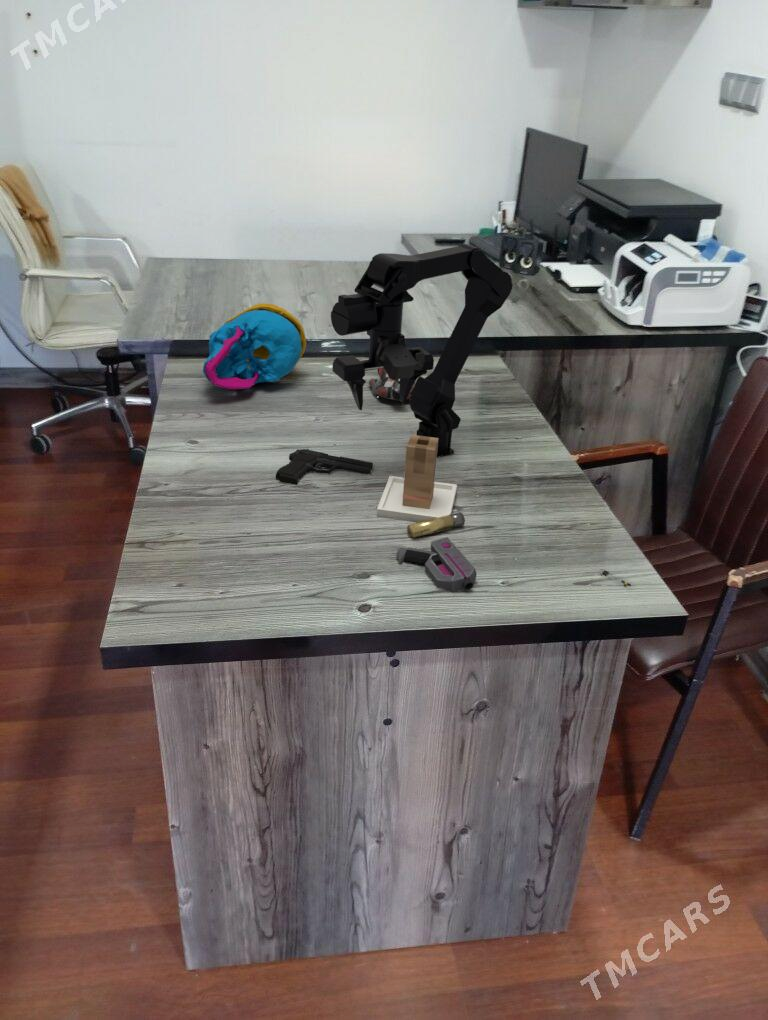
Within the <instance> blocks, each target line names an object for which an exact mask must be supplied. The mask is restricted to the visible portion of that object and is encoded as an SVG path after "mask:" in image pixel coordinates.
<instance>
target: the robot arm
mask: <svg viewBox="0 0 768 1020" xmlns="http://www.w3.org/2000/svg"><path fill="white" fill-rule="evenodd" d="M459 272H461V274H462V275H463V277H464V278H465V279H466V280H467V282H466V285H465V289H464V307H463V310H462V312H461V314H460V316H459V318H458V319H457V321H456V323H455V326H454V328H453V330H452V332H451V334H450V335H449V338H448V340H447V342H446V345H445V346H444V348H443V351H442V353H441V354H440V356H439V359H438V361H437V362H436V364H435V367H434V363H435V359H434V356H433V355H432V354H431V353H430V352H429V351H426V350H425V349H424V348H422V347H421V346H414V347H407V346H406V338H405V337H406V336H405V335H404V334H403V333H402V329H403V327H402V325H403V313H404V312H403V310H404V303H409V302H414V297H413V296H412V294H410V293H409V292H408V290H411V289H413V288H414V287H415V286H416V285H417V284H419V282H421V281H424V280H428V279H432V278H436V277H442V276H446V275H450V274H455V273H459ZM373 286H374V287H373ZM513 286H514V284H513V281H512V276H511V275H510V274H509V273H508V272H506V271H504V270H503V269H501V267H499V265H497V264H496V263H495V262H493V261H492V260H491V259H490V258H489V257H488V256H487V255H486V254H485V252H484V251H482V249H481V248H479V247H476V246H474V245H470V244H468V243H462V244H461V243H460V244H458V246H454V247H448V248H442V249H439V250H437V249H436V250H432V251H429V252H423V253H417V254H413V255H411V254H409V255H407V254H401V253H384V252H383V253H382V252H381V253H377V254H375V255H373V256H372V259H371V260H370V262H369V264H368V267H367V269H366V270H365V272H364V274H363V275H362V277H361V278H360V280H359V282H358V283H357V285H356V286H355V288H354V292H355V293H353V294H341V295H340V294H339V295H338V297H337V302H336V303H334V304H333V307H332V309H331V311H330V321H331V325H332V328H333V329H334V332H335V333H336V334H337V335H339V336H348V335H353V334H359V333H364V332H366V335H367V336H369V344H368V345H369V349H366V350H365V356H366V357H368V359H365V360H360V359H358V358H357V357H356V356H354V355H353V354H351V355H345V356H338V357H335V359H334V360H333V362H332V373H334V374H335V375H336V376H338V378H340V379H341V380H342V381H344V382H346V383H347V385H348V386H349V388H350V391H351V393H352V394H351V395H352V396H353V399H354V402H355V404H356V407H357V409H358V410H359V411H362V410H363V405H364V385H365V384H366V382H367V381H366V379H364V377H365V375H366V372H368V371H376V370H378V369H383V368H384V369H385V371H386V372H387V374H388V377H389V378H390V379H392V380H398V379H400V400H399V401H400V402H401V404H405V403H406V401H407V400H408V401H409V402H408V404H409V406H410V409H411V411H412V412H413V415H414V418H415V419H416V420H419V421H418V429H417V430H416V435H418V436H426V437H433V438H439V439H438V449H437V458H438V457H439V458H440V457H443V456H448V455H454V454H455V450H454V449H453V448H451V446H452V445H451V444H452V435H453V430H456V429H458V428H459V425H460V423H461V420H462V418H461V417H460V416H459V415H458V414H457V412H455V411H454V410H453V405H454V403H455V401H456V389H455V388H456V385H455V384H456V381H457V380H458V378H459V376H460V374H461V371H462V369H463V368H464V366H465V364H466V361H467V359H468V357H469V356H470V354H471V351H472V350H473V348H474V345H475V343H476V341H477V340H478V337H479V335H480V333H481V332H482V329H483V327H484V325H485V323H486V322H487V320H488V318H489V317H490V316H492V315H493V314H494V313H495V312H497V311H498V310H500V309H501V308H502V307H503V305H504V303H505V302H506V301H507V299H508V297H509V296H510V294H511V293H512V290H513ZM375 287H377V288H378V289H377V288H375ZM379 288H380V289H381V290H382V291H380V290H379ZM432 370H433V371H432ZM428 371H432V372H431V373H430V374H428V375H427V376H426V377H423V375H426V374H427V372H428ZM414 383H415V386H414V388H413V390H412V391H411V392H410V390H411V388H412V386H413V384H414ZM409 393H410V394H411V397H410V399H407V397H408V395H409Z"/></svg>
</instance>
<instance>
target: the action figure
mask: <svg viewBox="0 0 768 1020" xmlns="http://www.w3.org/2000/svg"><path fill="white" fill-rule="evenodd" d="M377 373H378V375H379V377H380V380H381V381H382V385H381V386H379V385H378V384H377V383H378V381H379V380H378V378H370V379H369V380H368V385H369V386H370V387H371V391H372V394H373V396H376V397H377V396H379V397H380V398H383V399H389V400H394V401H400V379H398V380H392V379H390V378H389V377H388V374H387V372H386V371H385V369H384V368H383V369H377ZM415 384H416V382H415V383H414V384H413V386H412V388H411V390H410V392H411V391H412V390H413V388H414V386H415ZM376 397H375V398H376ZM410 397H411V394H410V393H409V395H408V397H407V399H406V400H410Z"/></svg>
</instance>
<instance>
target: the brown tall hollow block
mask: <svg viewBox="0 0 768 1020" xmlns="http://www.w3.org/2000/svg"><path fill="white" fill-rule="evenodd" d="M438 439H439V438H433V437H426V436H418V435H417V434H410V437H409V439H408V441H407V444H406V451H405V463H404V464H405V466H404V477H403V478H404V489H403V503H402V506H409V507H416V508H424V509H430V505H431V502H432V498H433V492H434V482H436V481H435V480H436V472H437V471H436V469H437V468H436V467H437V458H438V457H437V449H438Z"/></svg>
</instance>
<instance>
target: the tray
mask: <svg viewBox="0 0 768 1020" xmlns="http://www.w3.org/2000/svg"><path fill="white" fill-rule="evenodd" d="M403 489H404V477H402V476H395V475H389V477H388V480H387V481H386V485H385V488H384V490H383V492H382V495H381V498H380V500H379V503H378V506H377V508H376V517H381V518H388V519H395V520H401V521H409V522H414V523H418V522H422V521H426V520H430V519H434V518H438V517H442V516H446V515H450V514H453V508H454V503H455V500H456V499H455V498H456V496H457V495H456V494H457V489H458V484H454V483H447V482H440V481H434V492H433V498H432V502H431V505H430V509H424V508H416V507H409V506H402V503H403Z"/></svg>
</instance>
